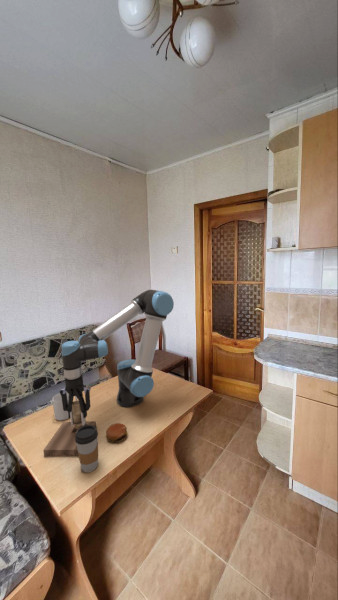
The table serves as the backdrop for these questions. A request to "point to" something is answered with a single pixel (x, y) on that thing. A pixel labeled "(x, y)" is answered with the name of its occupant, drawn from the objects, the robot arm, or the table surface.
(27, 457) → the table surface
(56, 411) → the mug
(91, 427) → the coffee cup
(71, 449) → the board
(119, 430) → the burger
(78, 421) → the peg
